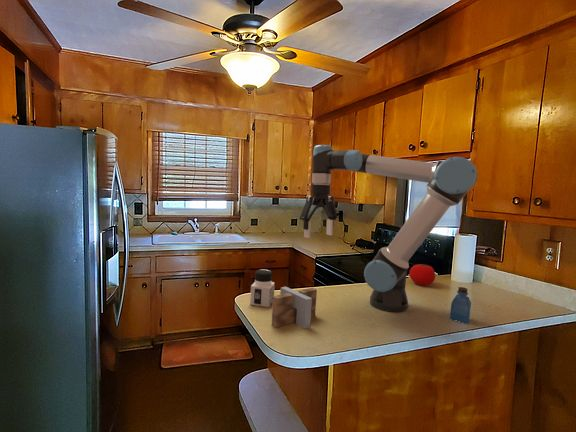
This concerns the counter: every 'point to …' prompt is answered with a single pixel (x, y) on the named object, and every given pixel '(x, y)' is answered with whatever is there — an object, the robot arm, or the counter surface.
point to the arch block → (300, 306)
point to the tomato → (422, 274)
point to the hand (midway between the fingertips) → (318, 236)
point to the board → (289, 307)
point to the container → (262, 289)
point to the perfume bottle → (461, 306)
